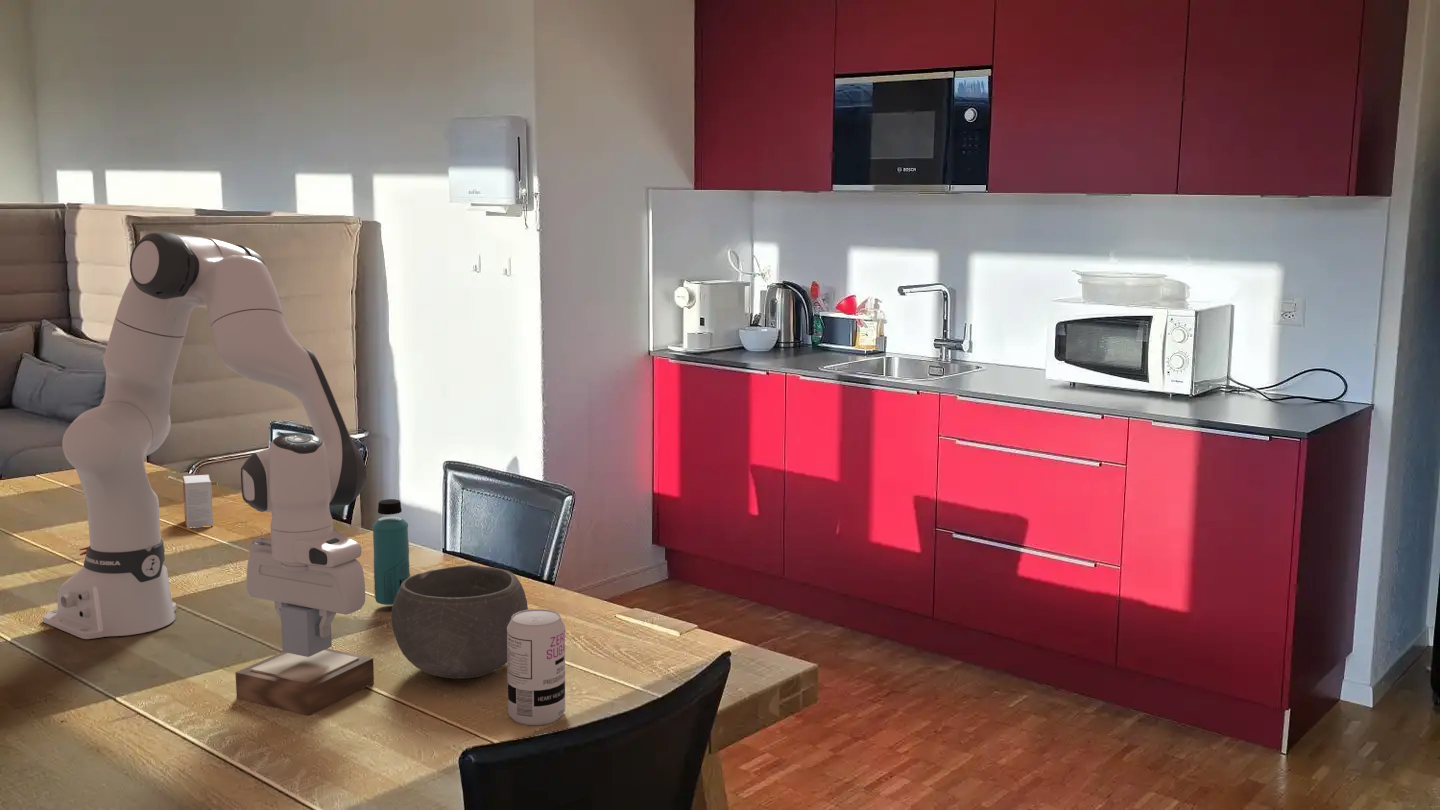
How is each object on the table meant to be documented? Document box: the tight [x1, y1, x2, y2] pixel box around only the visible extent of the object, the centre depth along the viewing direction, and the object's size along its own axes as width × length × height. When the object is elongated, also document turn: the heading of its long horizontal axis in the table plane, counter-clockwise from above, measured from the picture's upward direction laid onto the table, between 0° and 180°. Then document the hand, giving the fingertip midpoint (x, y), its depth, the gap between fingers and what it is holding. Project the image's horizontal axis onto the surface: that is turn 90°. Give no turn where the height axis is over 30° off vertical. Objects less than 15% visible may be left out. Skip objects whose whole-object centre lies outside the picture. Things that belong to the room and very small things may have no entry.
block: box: [280, 604, 333, 657], centre depth 191 cm, size 5×5×7 cm
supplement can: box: [506, 608, 566, 726], centre depth 183 cm, size 8×8×15 cm
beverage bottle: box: [372, 498, 411, 606], centre depth 230 cm, size 6×7×20 cm
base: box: [235, 648, 375, 716], centre depth 192 cm, size 14×14×4 cm
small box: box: [182, 474, 214, 529], centre depth 285 cm, size 8×6×10 cm
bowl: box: [390, 564, 529, 679], centre depth 200 cm, size 21×21×15 cm
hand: (306, 632), depth 191 cm, fingers closed on block, 5 cm apart
